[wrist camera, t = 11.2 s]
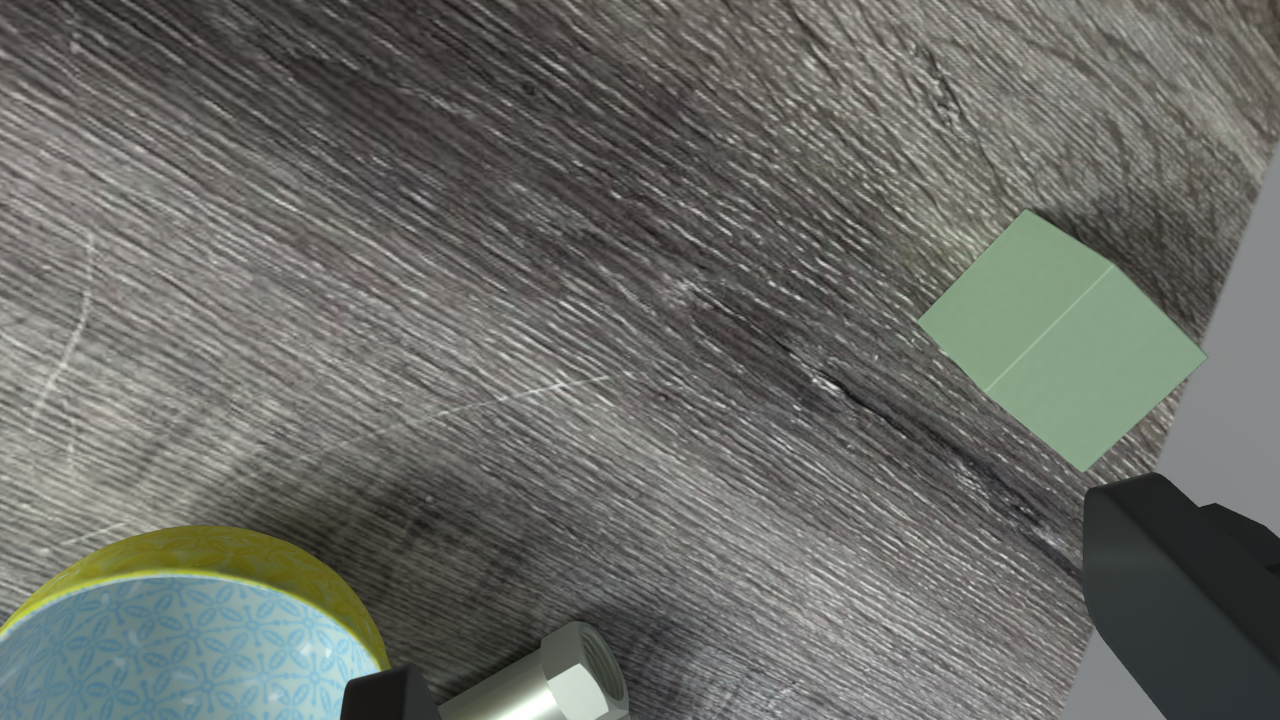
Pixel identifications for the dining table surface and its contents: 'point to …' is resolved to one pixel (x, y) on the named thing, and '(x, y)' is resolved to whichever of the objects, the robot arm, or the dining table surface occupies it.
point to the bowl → (188, 633)
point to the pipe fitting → (551, 683)
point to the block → (1061, 339)
